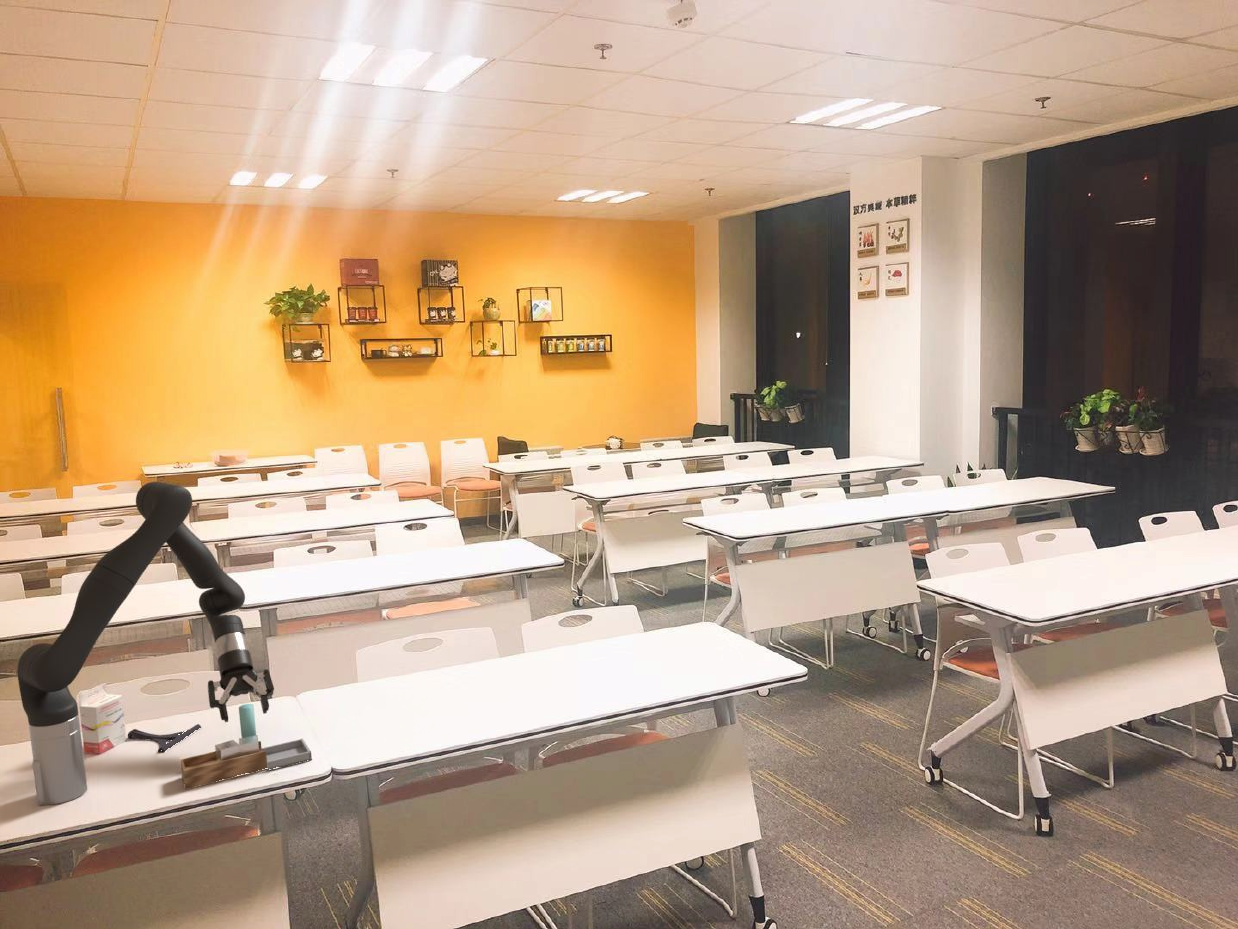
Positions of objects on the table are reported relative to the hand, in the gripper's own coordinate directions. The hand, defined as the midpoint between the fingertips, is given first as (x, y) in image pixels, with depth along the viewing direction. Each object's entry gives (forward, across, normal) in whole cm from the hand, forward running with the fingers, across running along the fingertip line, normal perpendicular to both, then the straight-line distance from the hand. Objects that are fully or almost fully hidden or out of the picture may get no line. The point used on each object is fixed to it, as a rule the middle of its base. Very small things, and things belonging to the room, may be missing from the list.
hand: (246, 716), depth 222 cm
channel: (+12, -7, 0) cm, 14 cm away
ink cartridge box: (-11, -29, +24) cm, 39 cm away
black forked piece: (-10, -18, +23) cm, 31 cm away
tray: (+12, +7, 0) cm, 14 cm away
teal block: (+8, 0, +5) cm, 9 cm away
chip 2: (+11, -1, -1) cm, 11 cm away
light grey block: (+11, -6, -1) cm, 12 cm away
